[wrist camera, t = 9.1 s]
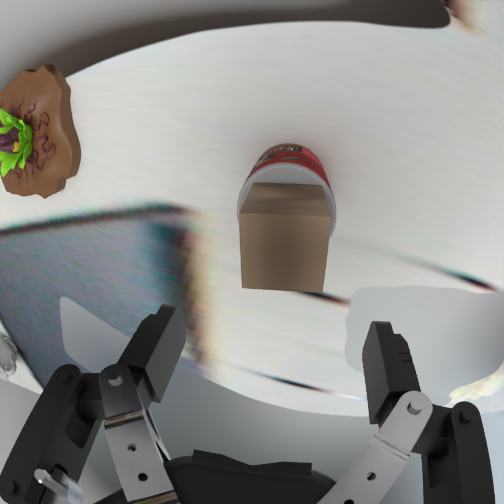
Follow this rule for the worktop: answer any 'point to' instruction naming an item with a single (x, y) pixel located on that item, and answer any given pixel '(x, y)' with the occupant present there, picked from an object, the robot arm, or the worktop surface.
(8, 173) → the plant
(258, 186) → the walnut block
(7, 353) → the teacup
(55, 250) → the worktop surface
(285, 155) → the canned food
